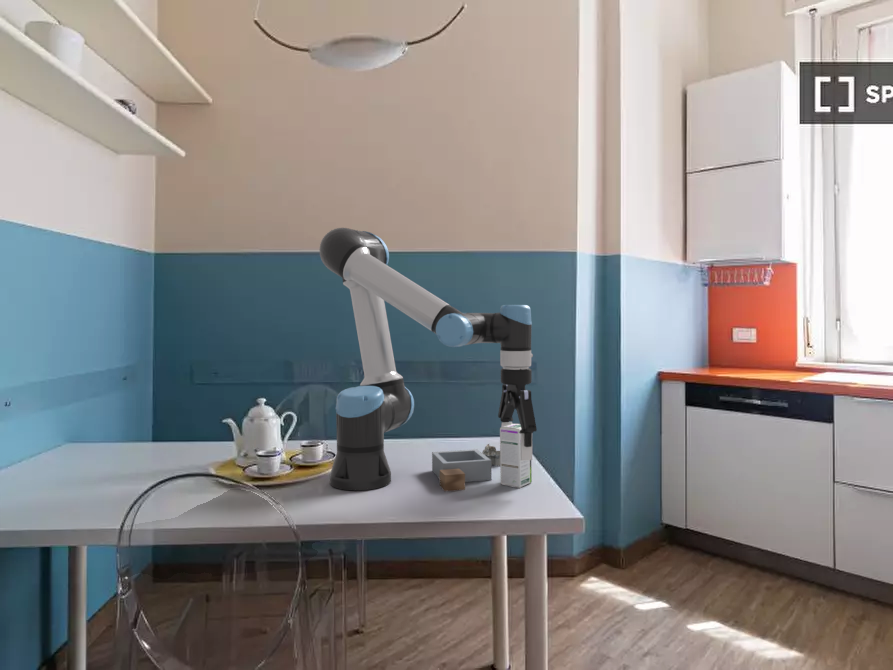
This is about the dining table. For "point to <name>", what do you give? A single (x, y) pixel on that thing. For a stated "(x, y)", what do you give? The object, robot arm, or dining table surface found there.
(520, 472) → the syrup box
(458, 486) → the walnut stub
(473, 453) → the socket
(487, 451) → the egg carton
